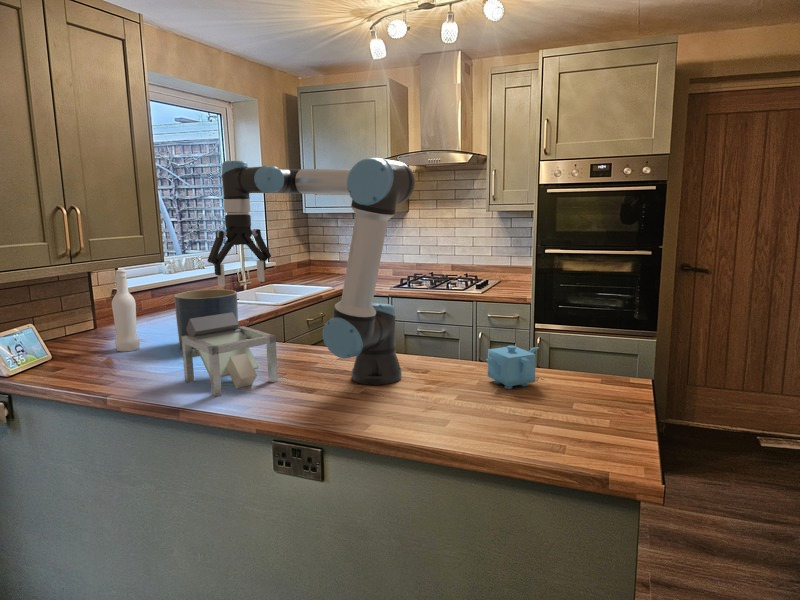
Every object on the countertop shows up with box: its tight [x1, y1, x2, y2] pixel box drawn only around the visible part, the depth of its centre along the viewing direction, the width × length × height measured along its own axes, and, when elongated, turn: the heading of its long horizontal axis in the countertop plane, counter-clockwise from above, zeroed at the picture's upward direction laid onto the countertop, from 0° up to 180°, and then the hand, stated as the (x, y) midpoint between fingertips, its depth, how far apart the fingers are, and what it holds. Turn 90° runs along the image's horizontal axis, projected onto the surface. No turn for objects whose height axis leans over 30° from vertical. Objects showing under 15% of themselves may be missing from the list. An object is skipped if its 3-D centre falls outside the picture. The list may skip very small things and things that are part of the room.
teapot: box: [485, 345, 540, 390], centre depth 161 cm, size 16×18×11 cm
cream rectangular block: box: [226, 354, 258, 390], centre depth 163 cm, size 5×5×8 cm
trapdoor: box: [186, 312, 260, 378], centre depth 169 cm, size 20×15×5 cm
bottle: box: [111, 268, 141, 353], centre depth 205 cm, size 8×8×30 cm
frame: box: [181, 325, 279, 398], centre depth 166 cm, size 20×20×14 cm
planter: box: [173, 288, 239, 352], centre depth 210 cm, size 22×22×20 cm
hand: (242, 283), depth 171 cm, fingers open, 13 cm apart
